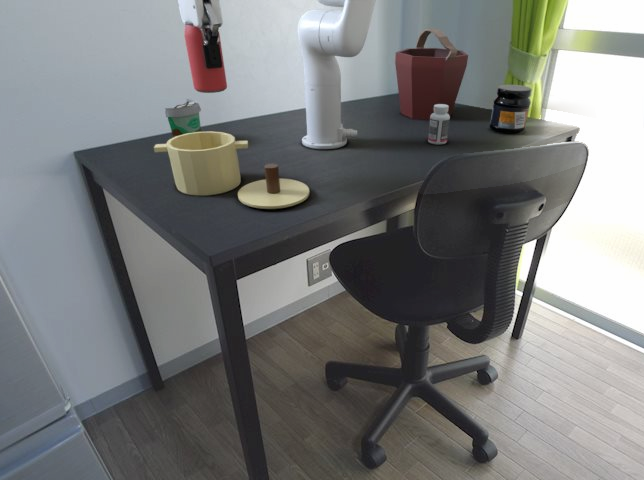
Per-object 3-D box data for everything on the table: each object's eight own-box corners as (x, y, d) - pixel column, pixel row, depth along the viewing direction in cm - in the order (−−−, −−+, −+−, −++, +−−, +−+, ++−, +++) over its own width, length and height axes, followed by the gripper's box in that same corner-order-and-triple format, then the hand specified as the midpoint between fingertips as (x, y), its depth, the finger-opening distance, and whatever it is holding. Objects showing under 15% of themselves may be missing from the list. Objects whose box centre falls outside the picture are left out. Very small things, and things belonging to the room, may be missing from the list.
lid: (240, 185, 100) (235, 155, 96) (306, 181, 102) (305, 152, 98) (236, 213, 88) (231, 181, 84) (312, 209, 90) (310, 177, 86)
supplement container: (522, 136, 132) (532, 92, 125) (486, 132, 135) (494, 89, 128) (525, 127, 140) (534, 85, 133) (491, 124, 143) (498, 83, 136)
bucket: (463, 123, 143) (476, 33, 128) (394, 123, 143) (400, 32, 128) (450, 105, 163) (461, 25, 148) (390, 105, 163) (394, 25, 148)
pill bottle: (444, 139, 129) (449, 103, 124) (448, 145, 125) (453, 107, 119) (426, 139, 129) (429, 103, 123) (429, 145, 125) (433, 108, 119)
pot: (170, 174, 105) (160, 133, 100) (253, 170, 108) (248, 129, 102) (158, 198, 94) (146, 153, 89) (252, 192, 97) (246, 148, 91)
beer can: (210, 94, 88) (198, 23, 81) (187, 91, 91) (174, 21, 84) (234, 89, 93) (225, 21, 86) (211, 85, 95) (200, 19, 88)
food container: (193, 149, 121) (185, 109, 115) (172, 147, 122) (164, 108, 116) (213, 136, 131) (207, 99, 125) (194, 134, 132) (187, 98, 126)
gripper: (228, -49, 75) (243, 69, 85) (192, -46, 86) (208, 58, 97) (184, -51, 71) (205, 73, 82) (152, -47, 83) (174, 61, 93)
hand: (207, 64), depth 89 cm, fingers closed on beer can, 6 cm apart
